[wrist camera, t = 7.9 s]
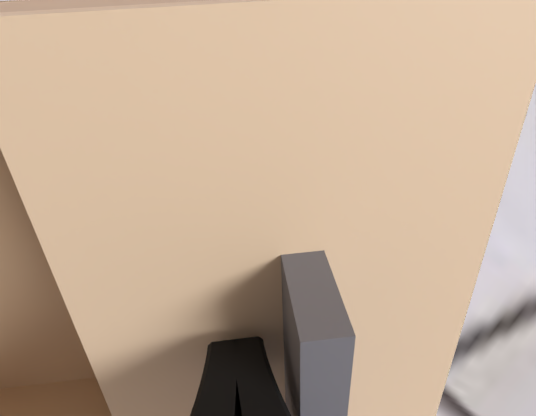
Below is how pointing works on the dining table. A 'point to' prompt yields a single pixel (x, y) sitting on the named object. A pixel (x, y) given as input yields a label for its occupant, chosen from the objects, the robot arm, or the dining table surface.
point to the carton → (40, 300)
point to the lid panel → (267, 185)
